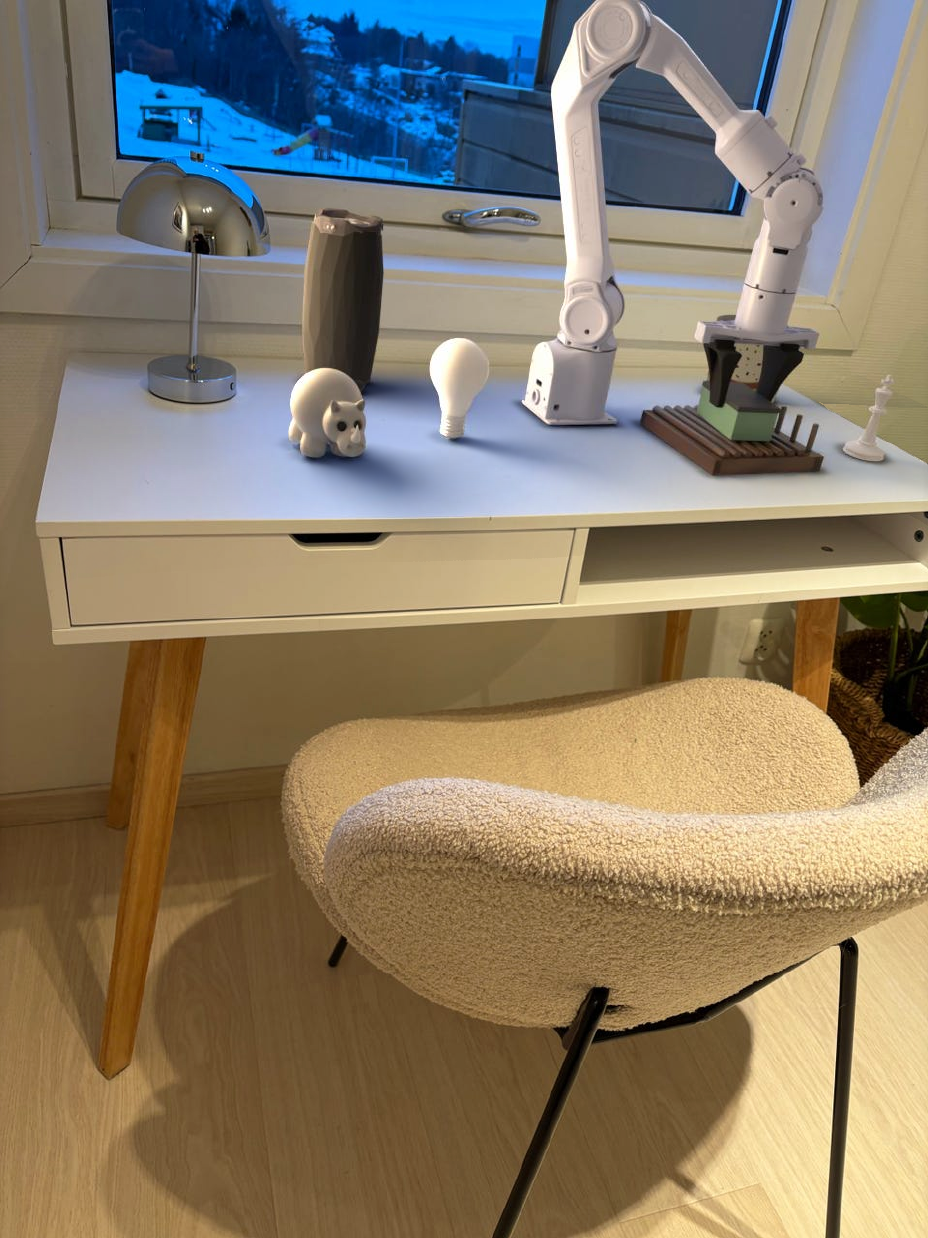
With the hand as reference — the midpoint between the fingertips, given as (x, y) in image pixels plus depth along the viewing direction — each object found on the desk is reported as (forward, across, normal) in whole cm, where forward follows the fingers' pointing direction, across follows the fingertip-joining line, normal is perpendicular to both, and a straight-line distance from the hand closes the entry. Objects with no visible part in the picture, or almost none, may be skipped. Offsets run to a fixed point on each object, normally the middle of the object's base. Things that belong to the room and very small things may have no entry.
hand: (738, 405), depth 119 cm
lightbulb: (+5, +34, 0) cm, 35 cm away
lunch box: (+3, 0, 0) cm, 3 cm away
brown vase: (+5, +45, -17) cm, 48 cm away
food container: (+5, -12, -21) cm, 25 cm away
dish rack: (+5, 0, 0) cm, 5 cm away
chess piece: (+5, -18, +1) cm, 19 cm away
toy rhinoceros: (+5, +48, +7) cm, 49 cm away
